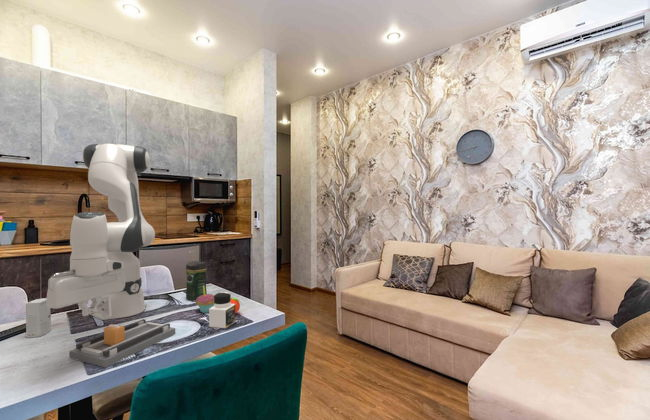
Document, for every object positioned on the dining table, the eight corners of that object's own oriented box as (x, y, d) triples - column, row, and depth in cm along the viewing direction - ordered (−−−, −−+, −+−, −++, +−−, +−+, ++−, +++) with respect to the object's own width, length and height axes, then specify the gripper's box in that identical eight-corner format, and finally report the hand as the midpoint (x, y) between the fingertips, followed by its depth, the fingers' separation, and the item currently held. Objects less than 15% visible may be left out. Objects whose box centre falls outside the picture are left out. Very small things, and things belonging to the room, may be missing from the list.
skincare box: (40, 336, 104) (40, 302, 104) (25, 338, 103) (24, 303, 103) (51, 329, 110) (51, 297, 110) (37, 331, 109) (36, 298, 109)
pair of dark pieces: (76, 348, 90) (76, 344, 90) (143, 322, 111) (143, 319, 111) (105, 356, 85) (105, 352, 85) (169, 327, 106) (169, 324, 106)
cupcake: (210, 314, 126) (209, 286, 125) (191, 313, 127) (191, 285, 127) (220, 307, 134) (220, 281, 134) (202, 307, 135) (202, 280, 135)
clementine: (244, 312, 129) (244, 295, 129) (238, 317, 122) (238, 300, 122) (227, 311, 129) (227, 295, 129) (219, 317, 122) (219, 300, 122)
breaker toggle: (104, 343, 94) (104, 326, 94) (113, 339, 97) (113, 322, 96) (115, 346, 92) (114, 328, 92) (124, 342, 95) (124, 324, 95)
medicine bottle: (226, 328, 111) (225, 296, 111) (208, 327, 112) (208, 295, 112) (235, 321, 118) (235, 291, 118) (219, 320, 119) (219, 290, 119)
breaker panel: (69, 357, 90) (69, 345, 90) (143, 327, 112) (142, 318, 112) (105, 367, 84) (105, 354, 84) (175, 333, 106) (175, 323, 106)
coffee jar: (209, 298, 148) (209, 261, 148) (195, 302, 142) (195, 263, 142) (197, 295, 154) (197, 259, 153) (183, 299, 147) (183, 261, 147)
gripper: (57, 275, 77) (57, 328, 77) (129, 262, 96) (128, 304, 96) (40, 273, 78) (39, 326, 78) (113, 261, 98) (113, 303, 98)
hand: (89, 314), depth 87 cm, fingers closed
